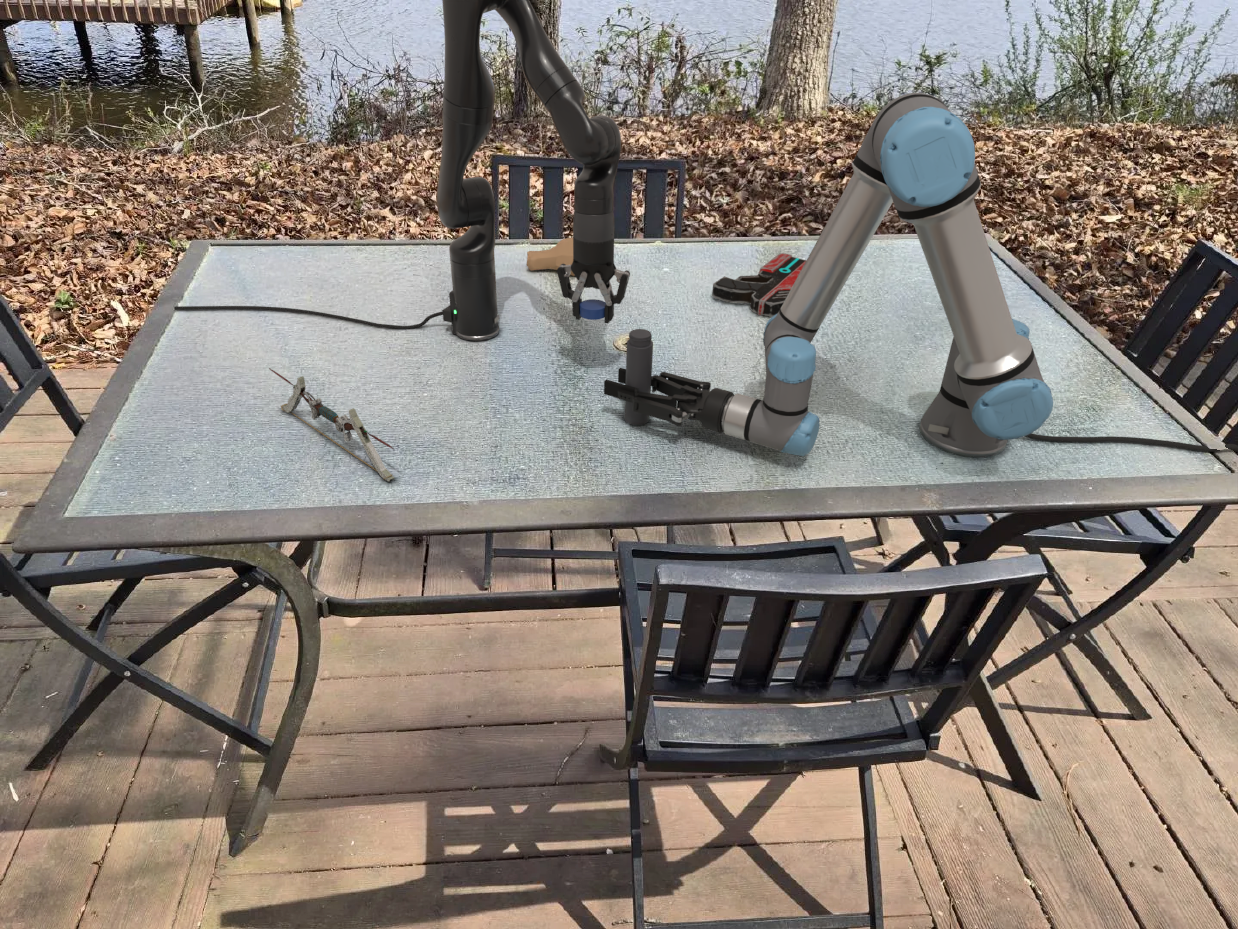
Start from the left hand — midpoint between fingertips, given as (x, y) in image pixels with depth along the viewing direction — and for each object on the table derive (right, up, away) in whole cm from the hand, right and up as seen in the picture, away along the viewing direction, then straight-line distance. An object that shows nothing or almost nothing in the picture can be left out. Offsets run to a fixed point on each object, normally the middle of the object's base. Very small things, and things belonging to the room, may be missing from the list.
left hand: (593, 319), depth 169 cm
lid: (0, +2, -2) cm, 3 cm away
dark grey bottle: (+8, -19, -5) cm, 22 cm away
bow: (-45, -24, -15) cm, 53 cm away
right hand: (+4, -12, -7) cm, 15 cm away
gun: (+42, +15, +47) cm, 65 cm away
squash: (-9, +21, +55) cm, 60 cm away
